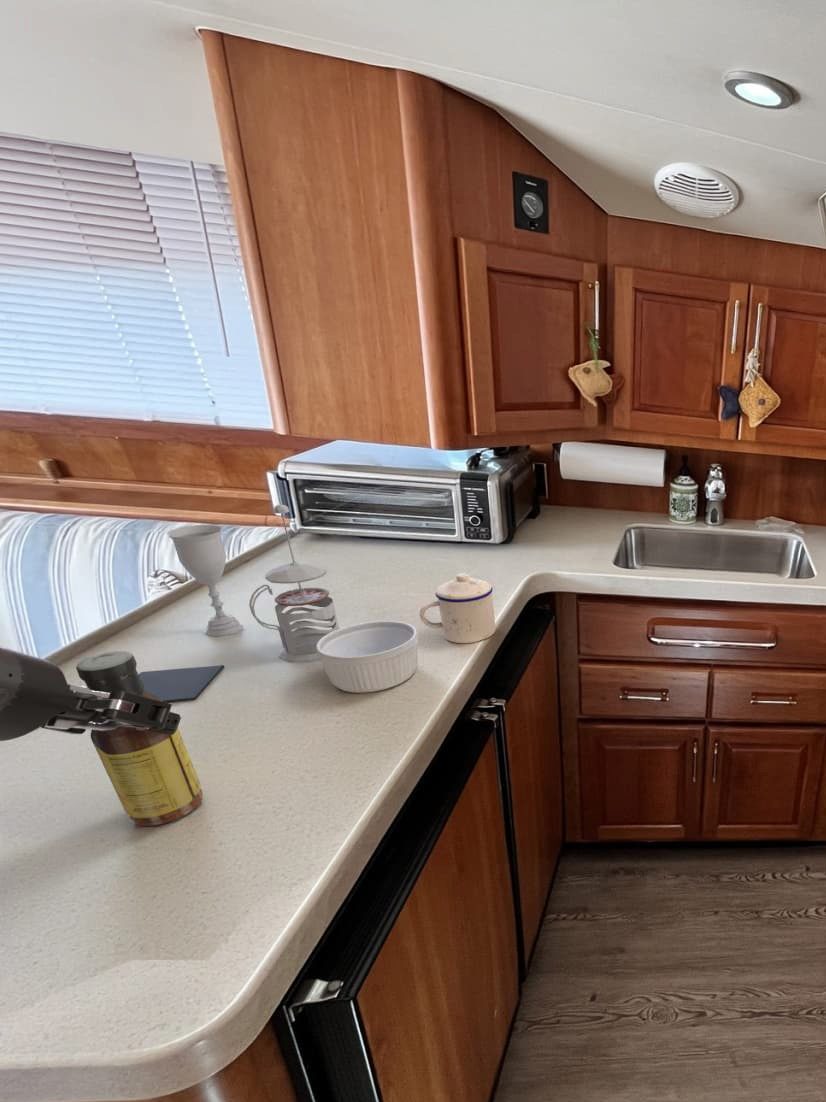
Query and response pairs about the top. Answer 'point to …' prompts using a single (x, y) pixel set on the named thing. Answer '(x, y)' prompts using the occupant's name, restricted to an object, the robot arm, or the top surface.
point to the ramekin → (369, 655)
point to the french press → (303, 639)
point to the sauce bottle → (140, 750)
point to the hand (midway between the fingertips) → (129, 724)
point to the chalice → (205, 568)
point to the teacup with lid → (463, 610)
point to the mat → (179, 682)
